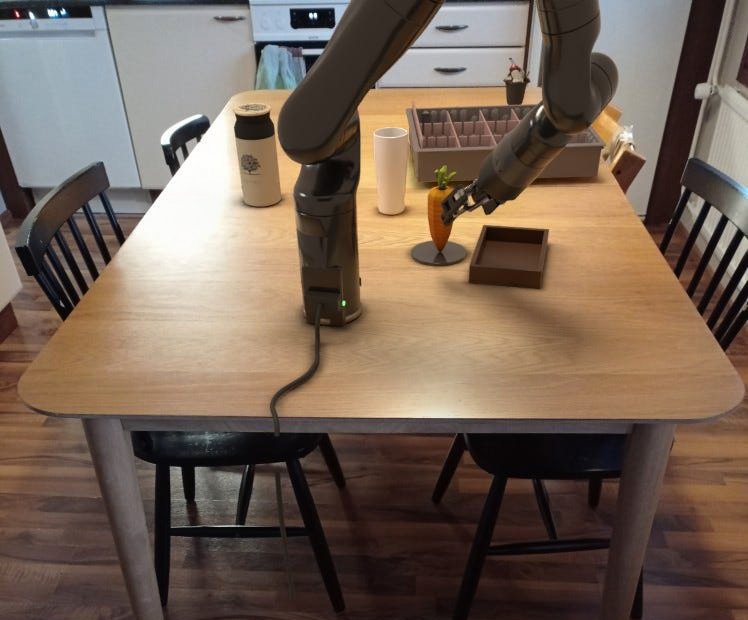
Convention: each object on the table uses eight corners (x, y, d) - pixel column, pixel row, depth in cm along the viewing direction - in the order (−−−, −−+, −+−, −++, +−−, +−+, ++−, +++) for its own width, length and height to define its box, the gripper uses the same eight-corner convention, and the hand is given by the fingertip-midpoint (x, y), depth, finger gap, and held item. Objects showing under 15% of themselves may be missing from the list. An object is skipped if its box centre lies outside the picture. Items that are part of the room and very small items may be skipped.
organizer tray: (600, 183, 166) (608, 134, 159) (414, 190, 166) (414, 141, 159) (568, 138, 190) (574, 93, 184) (405, 143, 190) (405, 99, 183)
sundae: (494, 121, 202) (499, 56, 192) (516, 118, 204) (522, 53, 194) (508, 128, 197) (514, 62, 188) (530, 124, 200) (537, 58, 190)
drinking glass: (404, 217, 155) (405, 138, 145) (371, 216, 156) (369, 136, 146) (410, 205, 159) (411, 127, 150) (378, 203, 161) (376, 126, 151)
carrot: (436, 244, 143) (439, 159, 134) (459, 250, 141) (463, 165, 131) (420, 253, 141) (422, 167, 131) (443, 260, 138) (446, 173, 128)
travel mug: (261, 191, 168) (250, 100, 156) (289, 198, 164) (280, 105, 152) (235, 202, 163) (223, 110, 151) (264, 210, 159) (253, 115, 148)
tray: (539, 288, 130) (541, 271, 128) (468, 282, 132) (469, 265, 130) (547, 245, 143) (549, 229, 141) (482, 240, 145) (483, 224, 143)
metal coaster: (461, 268, 137) (461, 265, 136) (406, 263, 139) (406, 261, 138) (469, 245, 144) (469, 242, 144) (416, 241, 146) (416, 238, 146)
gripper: (487, 196, 113) (439, 246, 128) (561, 176, 118) (506, 226, 133) (467, 148, 113) (421, 204, 128) (542, 131, 118) (489, 186, 133)
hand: (465, 215), depth 130 cm, fingers open, 8 cm apart
